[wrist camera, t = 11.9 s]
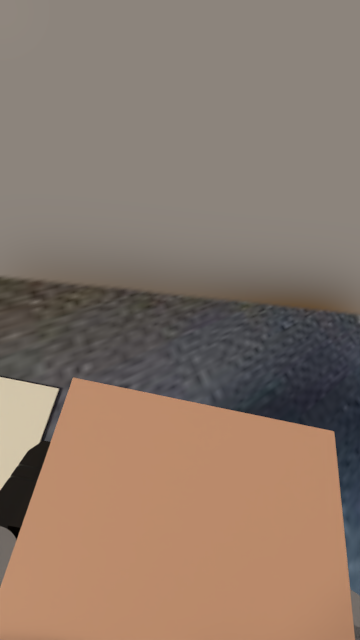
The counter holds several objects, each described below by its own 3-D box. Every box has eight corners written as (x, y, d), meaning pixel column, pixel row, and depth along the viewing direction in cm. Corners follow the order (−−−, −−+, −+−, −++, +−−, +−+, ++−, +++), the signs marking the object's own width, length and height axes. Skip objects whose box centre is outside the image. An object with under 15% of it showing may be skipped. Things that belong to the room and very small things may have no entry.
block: (213, 478, 14) (334, 431, 6) (199, 638, 11) (379, 894, 4) (95, 456, 14) (73, 377, 6) (52, 615, 11) (-91, 845, 3)
